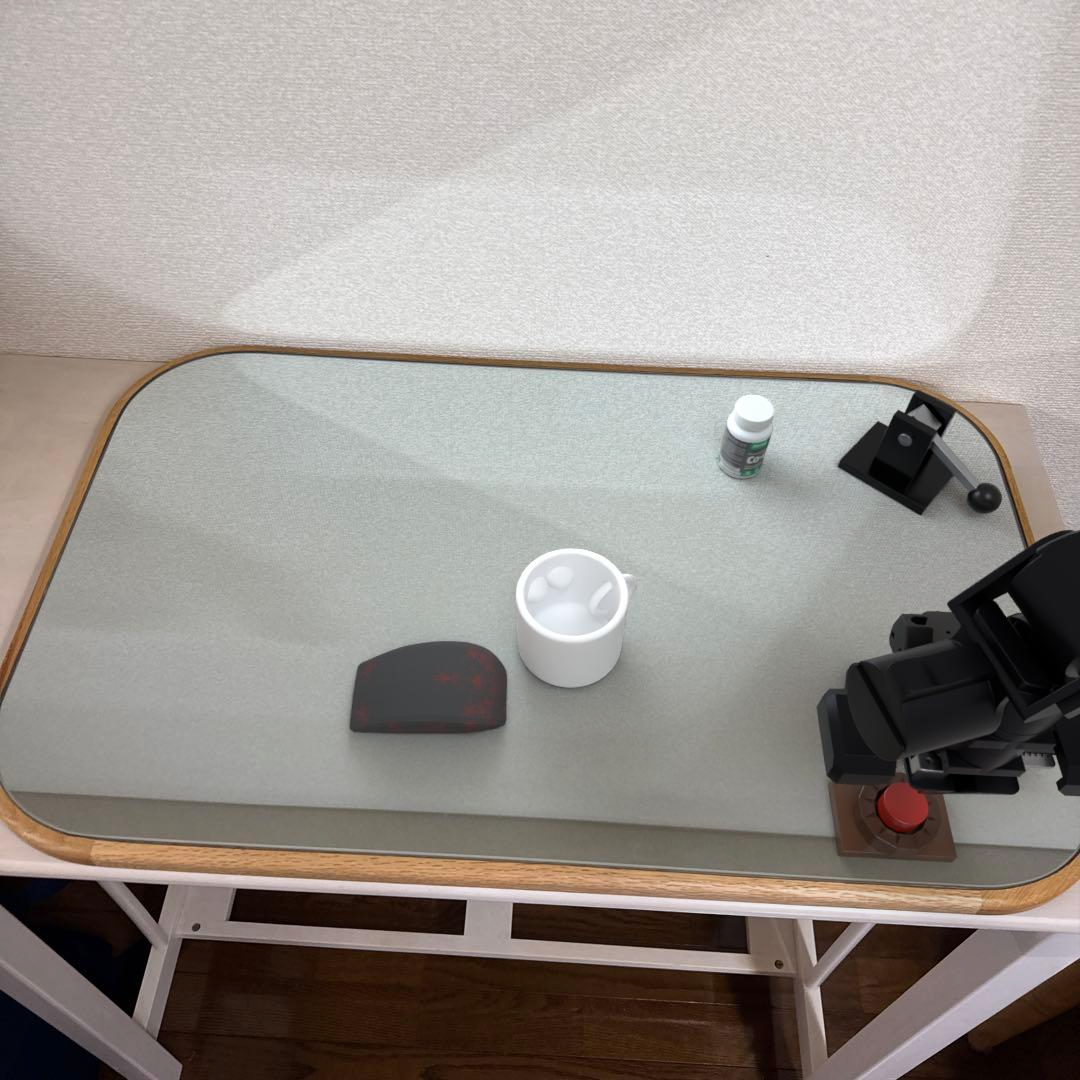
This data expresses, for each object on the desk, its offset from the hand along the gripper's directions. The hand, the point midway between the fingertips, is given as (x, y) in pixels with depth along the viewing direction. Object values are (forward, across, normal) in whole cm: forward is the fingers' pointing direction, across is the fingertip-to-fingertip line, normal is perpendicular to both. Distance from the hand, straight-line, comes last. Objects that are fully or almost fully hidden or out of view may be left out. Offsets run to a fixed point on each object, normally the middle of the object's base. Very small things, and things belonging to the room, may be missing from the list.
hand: (921, 787), depth 66 cm
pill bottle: (+8, +9, -39) cm, 41 cm away
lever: (+4, -11, -36) cm, 38 cm away
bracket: (+8, -8, -39) cm, 40 cm away
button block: (+8, 0, 0) cm, 8 cm away
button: (+5, 0, 0) cm, 5 cm away
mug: (+8, +26, -16) cm, 32 cm away
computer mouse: (+8, +39, -9) cm, 41 cm away
